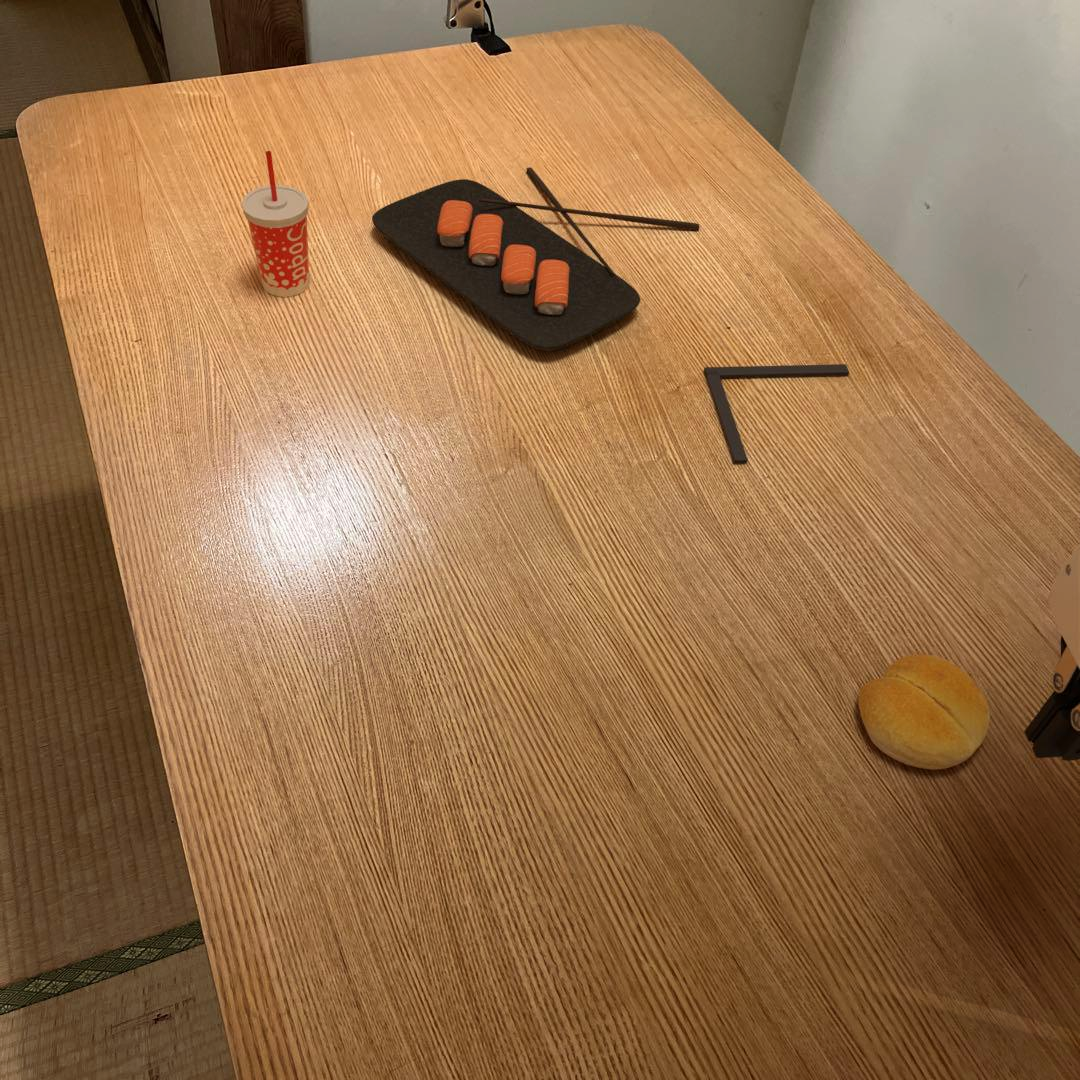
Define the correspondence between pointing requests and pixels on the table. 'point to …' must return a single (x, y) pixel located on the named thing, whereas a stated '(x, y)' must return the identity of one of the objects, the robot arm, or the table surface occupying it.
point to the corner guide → (719, 373)
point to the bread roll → (925, 712)
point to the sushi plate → (512, 260)
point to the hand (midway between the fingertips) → (1054, 744)
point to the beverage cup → (279, 235)
